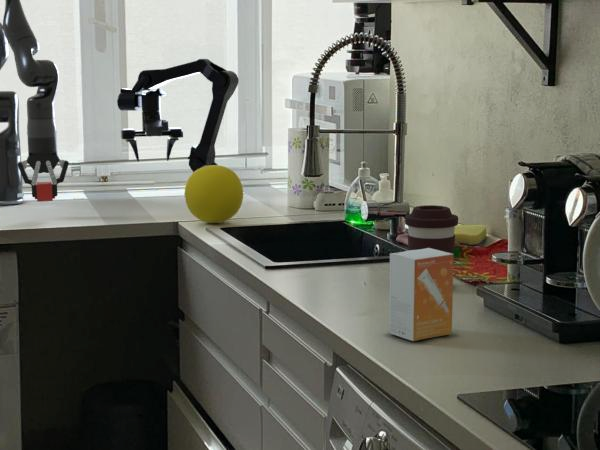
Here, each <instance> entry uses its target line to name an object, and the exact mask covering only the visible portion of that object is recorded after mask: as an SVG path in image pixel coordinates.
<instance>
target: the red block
mask: <svg viewBox="0 0 600 450" xmlns="http://www.w3.org/2000/svg"><path fill="white" fill-rule="evenodd" d="M36 185H37V199H36V200H37V201H36V202H53V201H54V200H53V197H52V181H37V182H36Z"/></svg>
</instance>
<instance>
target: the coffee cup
mask: <svg viewBox="0 0 600 450" xmlns="http://www.w3.org/2000/svg"><path fill="white" fill-rule="evenodd" d="M404 225H406V226H407V227H408V228H407V230H408V233H407V251H409V250H419V249H425V248H431V249H436V250H440V251H444V252H447V253H452V254H454V255H455V244H456V243H455V242H456V235H455V229H456V228H455V227H456V226H458V225H459V216H458V215H456V214H453V213H452V211H451V208H450V207H448V206H444V205H437V204H436V205H434V204H433V205H431V204H429V205H426V204H425V205H418V206H414V207H413V208H412V210H411V213H408V214H406V215H405V216H404Z"/></svg>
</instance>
